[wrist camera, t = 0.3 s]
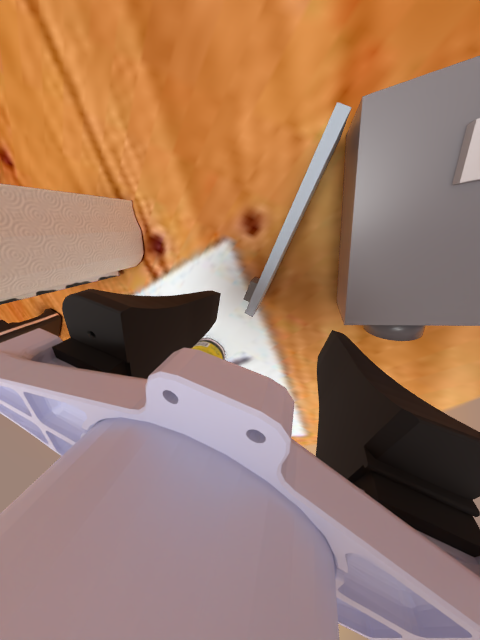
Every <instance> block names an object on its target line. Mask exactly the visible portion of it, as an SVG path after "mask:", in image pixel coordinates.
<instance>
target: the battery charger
mask: <svg viewBox="0 0 480 640" xmlns="http://www.w3.org/2000/svg"><path fill="white" fill-rule="evenodd" d="M38 328H40V329H43V330H45V331H47V332H50V333H52V334H54V335H56V336H58V337H59V333H60V328H61V316H60V315H59V314H58V313H56V312H54V311H53V310H51V309H46V310H45V311H44V313H43V314H41V315H40V316H38V317H35V318H33V319H30V320H26V321H23V322H19V323H14V322H12V323H9V324H8V323H6V322H5V321H3V320H0V343H2V342H4V341H7V340H9V339H12V338H15V337H17V336H20V335H22V334H25V333H28V332H30V331H33V330H35V329H38Z"/></svg>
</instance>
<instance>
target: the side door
mask: <svg viewBox="0 0 480 640" xmlns="http://www.w3.org/2000/svg"><path fill="white" fill-rule="evenodd" d="M350 110H351V107H349V106H346V105H343V104H341V103H338V102H337V104H336V106H335V109H334V111H333V113H332V115H331V118H330V120H329V122H328V125H327V127H326V129H325V131H324V134H323V136H322V138H321V140H320V143H319V145H318V147H317V150H316V152H315V154H314V156H313V159H312V161H311V163H310V165H309V168H308V170H307V172H306V175H305V177H304V179H303V181H302V184H301V186H300V188H299V191H298V193H297V195H296V197H295V200H294V202H293V204H292V206H291V209H290V211H289V213H288V216H287V218H286V220H285V222H284V225H283V227H282V229H281V231H280V234H279V236H278V238H277V241H276V243H275V245H274V247H273V250H272V252H271V254H270V257H269V259H268V261H267V263H266V266H265V268H264V270H263V272H262V275H261V277H260V279H259V278H257V277H254V278H253V279H252V280H251V282H250V285H249V287H248V290H247V292H246V294H245V297H244V300H246V301H248V302H249V304H248V307H247V309H246V311H245V313H246V314H248V315H250V316H252V317H253V315H254V314H255V312H256V310H257V309H258V307H259V305H260V304H261V302H262V300H263V298H264V296H265V294H266V292H267V290H268V288H269V286H270V284H271V282H272V280H273V278H274V275H275V273H276V271H277V269H278V267H279V265H280V263H281V261H282V259H283V257H284V255H285V253H286V250H287V248H288V246H289V244H290V242H291V240H292V238H293V236H294V234H295V232H296V230H297V228H298V225H299V223H300V221H301V219H302V217H303V215H304V213H305V211H306V209H307V207H308V205H309V202H310V200H311V198H312V196H313V194H314V192H315V190H316V188H317V186H318V184H319V182H320V180H321V177H322V175H323V173H324V171H325V169H326V167H327V165H328V163H329V161H330V159H331V157H332V155H333V152H334V150H335V148H336V146H337V144H338V142H339V140H340V137H341V135H342V132H343V129H344V126H345V124H346V121H347V118H348V116H349V113H350Z"/></svg>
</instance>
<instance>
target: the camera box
mask: <svg viewBox="0 0 480 640" xmlns="http://www.w3.org/2000/svg"><path fill="white" fill-rule="evenodd" d="M337 305H338V308H339V311H340V314H341V317H342V320H343V322H344V325H363V327H364V329H365V330H366V331H367V332H368V333H370V334H372V335H374V336H376V337H379V338H383V339H388V340H395V341H410V340H415V339H418V338H420V337H421V336H422V335H423V332H424V328H425V325H448V326H480V56H477V57H474V58H472V59H469V60H466V61H463V62H460V63H457V64H454V65H452V66H449V67H446V68H443V69H440V70H437V71H434V72H432V73H429V74H426V75H423V76H420V77H417V78H414V79H412V80H409V81H406V82H403V83H400V84H397V85H394V86H392V87H389V88H386V89H383V90H380V91H377V92H374V93H371V94H369V95H366V96H363V97H362V99H361V102H360V104H359V107H358V109H357V111H356V114H355V116H354V118H353V121H352V123H351V126H350V128H349V130H348V133H347V135H346V151H345V168H344V185H343V202H342V219H341V236H340V253H339V270H338V287H337Z"/></svg>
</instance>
